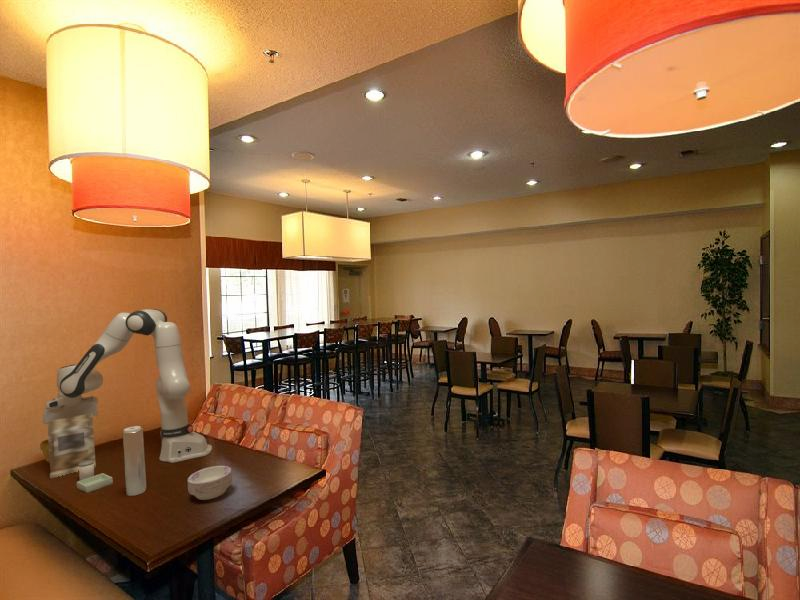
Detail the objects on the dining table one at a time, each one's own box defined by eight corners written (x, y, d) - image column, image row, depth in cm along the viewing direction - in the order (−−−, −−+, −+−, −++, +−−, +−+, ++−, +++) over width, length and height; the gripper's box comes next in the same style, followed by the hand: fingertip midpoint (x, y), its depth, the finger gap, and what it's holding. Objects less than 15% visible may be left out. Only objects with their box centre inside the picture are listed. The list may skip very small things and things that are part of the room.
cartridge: (96, 475, 180) (95, 459, 179) (91, 480, 175) (90, 463, 175) (82, 477, 178) (81, 461, 178) (77, 482, 173) (76, 465, 173)
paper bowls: (187, 492, 159) (186, 471, 159) (230, 481, 167) (229, 461, 167) (189, 508, 146) (188, 486, 146) (235, 496, 153) (234, 475, 153)
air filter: (136, 496, 158) (132, 430, 157) (122, 495, 159) (118, 430, 159) (150, 488, 164) (146, 425, 164) (136, 487, 165) (132, 425, 165)
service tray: (103, 479, 175) (102, 473, 175) (112, 483, 170) (112, 477, 170) (77, 488, 168) (76, 481, 167) (86, 493, 162) (86, 486, 162)
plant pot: (42, 459, 202) (41, 439, 202) (69, 454, 208) (68, 434, 208) (40, 466, 193) (38, 445, 193) (68, 460, 200) (67, 439, 200)
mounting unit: (95, 461, 196) (92, 412, 196) (95, 467, 188) (92, 416, 188) (51, 471, 186) (48, 419, 186) (49, 478, 178) (46, 424, 178)
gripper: (97, 394, 204) (99, 422, 204) (42, 402, 191) (44, 432, 191) (97, 396, 199) (99, 425, 199) (41, 405, 186) (43, 435, 186)
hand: (71, 428), depth 195 cm, fingers open, 8 cm apart
